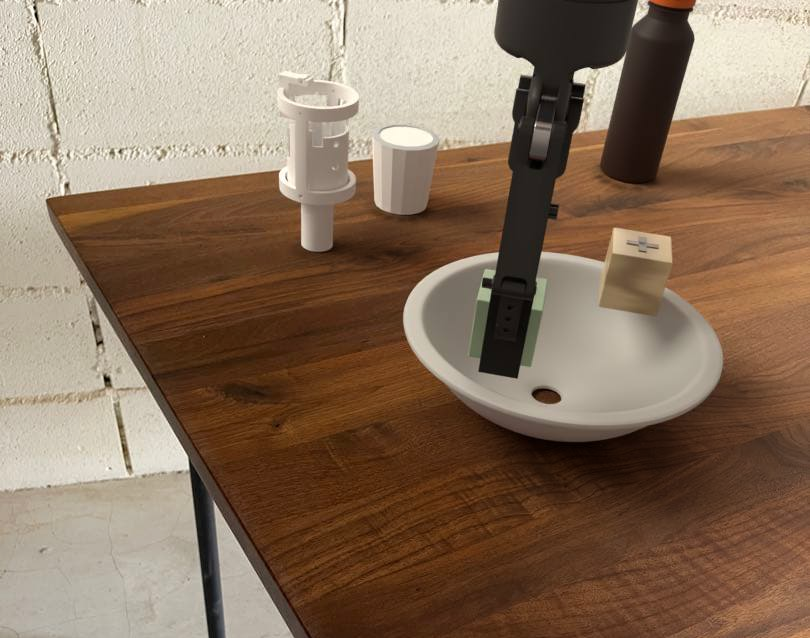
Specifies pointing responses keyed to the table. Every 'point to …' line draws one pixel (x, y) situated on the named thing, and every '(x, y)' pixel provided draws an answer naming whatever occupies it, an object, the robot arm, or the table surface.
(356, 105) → the white slotted cylindrical holder
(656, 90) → the bottle
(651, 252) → the maple block
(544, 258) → the sink basin
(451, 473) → the table surface
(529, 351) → the sage block
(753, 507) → the table surface
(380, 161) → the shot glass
